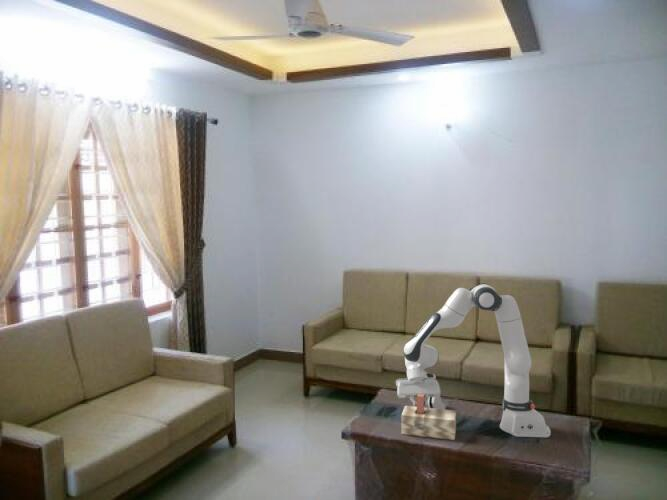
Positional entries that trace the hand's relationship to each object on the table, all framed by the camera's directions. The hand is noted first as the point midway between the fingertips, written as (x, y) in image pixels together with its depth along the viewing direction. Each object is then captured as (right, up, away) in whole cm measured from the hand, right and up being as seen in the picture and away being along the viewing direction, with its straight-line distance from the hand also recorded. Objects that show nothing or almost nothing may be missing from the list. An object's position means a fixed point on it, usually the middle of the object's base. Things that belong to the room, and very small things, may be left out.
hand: (420, 405), depth 259 cm
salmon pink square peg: (0, -9, +2) cm, 9 cm away
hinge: (+12, -10, +25) cm, 29 cm away
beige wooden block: (+4, -12, +1) cm, 13 cm away
